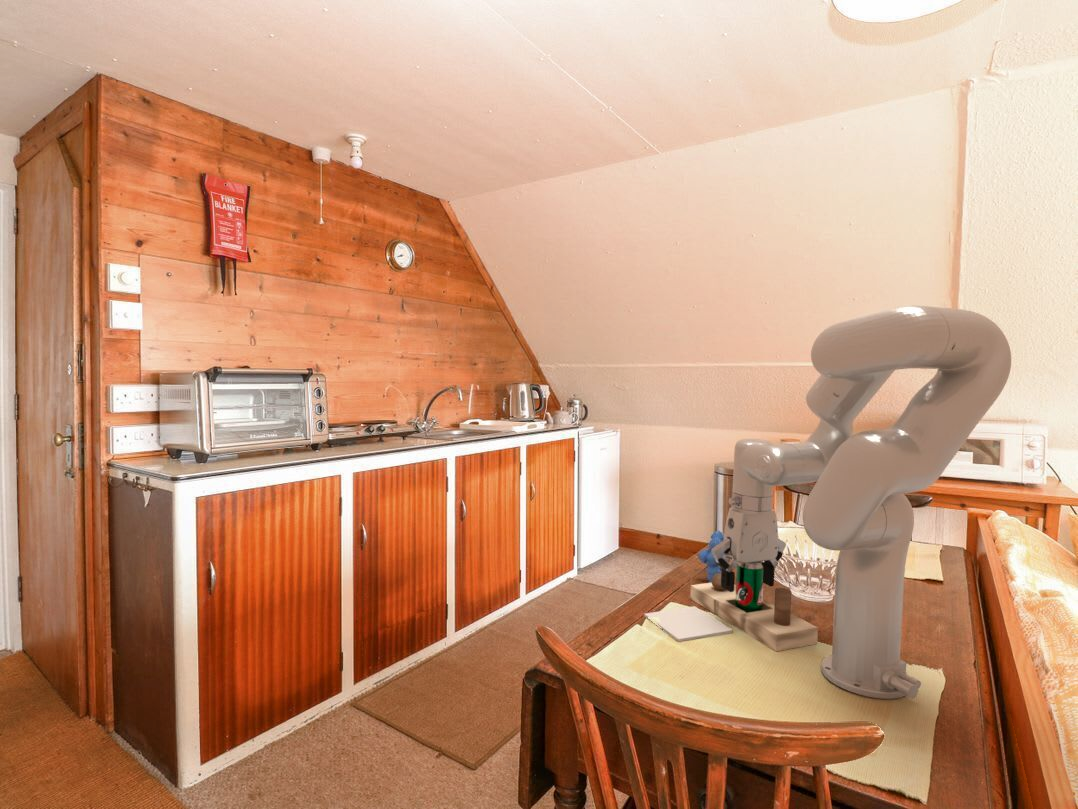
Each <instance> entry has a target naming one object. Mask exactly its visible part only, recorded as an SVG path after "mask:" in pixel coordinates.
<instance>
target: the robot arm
mask: <svg viewBox="0 0 1078 809" xmlns="http://www.w3.org/2000/svg"><path fill="white" fill-rule="evenodd" d="M810 358H811V360H810V361H811V364H812V366H813V367H814V369H815V371H817V373H818V374H820V375H819V376H818V378H817V379H816V380H815V381H814V383H813V385H812V386H811V387H810V389H809V390H807V393H806V395H805V401H806V404H807V406H808V408H809V410H810V411H811V412H812V413H813V414H814V415H815V416H816V417H817V418H818V419H820V420H819V422H818V425H817V426H816V428H815V429H814V430H813V432H812V433H811V434H810V436H808V438H807V439H806V440H805V441H804V442H799V443H798V442H797V443H782V444H781V443H780V444H774V443H773V442H771V441H769V440H765V439H759V438H757V439H756V438H743V439H739V440H737V441H736V443H735V445H734V452H733V453H734V454H733V472H732V473H733V474H732V490H731V491H732V493H731V497H729V498H728V501H727V502H728V504H729V505H731V507H729V509H728V513H727V517H726V521H725V527H724V534H723V535H724V540H723V541H722V542H721V543H719V544H718V545H716V546H715V547H713V548H712V550H711V552H712V554H713V557H714V558H715V559H714V560H715V562H716V563H717V564H718V565H719V567H720V568H721V587H722V588H724V589H726V590H727V591H729V592H733V591H734V585H735V583H736V572H735V571H733V570H734V569H735V568H736V567H737V563H738V562H739V563H752V562H760V561H762V565H763V566H764V577H763V584H765V585H766V586H769V587H774V585H775V572H776V571H775V570H776V568H775V567H777V566H778V565H779V561H780V559H781V558H782V556H783V553H784V551H785V549H786V546H787V542H785V541H784V540H782V539H779V528H778V518H777V513H776V510H775V509H774V508H773V501H774V500H773V497H774V496H773V495H774V487H782V486H792V485H800V484H812V483H815V485H814V486H813V488H812V489H811V490H810V493H809V495H808V496H807V498H806V501H805V502H804V506H803V511H802V524H803V527H804V531H805V533H806V535H807V537H808V538H810V540H811V541H812V542H813V543H814V544H816V545H817V546H819V547H821V548H822V549H826V550H829V551H839V553H838V556H837V560H836V568H835V582H834V584H835V585H834V601H833V602H834V603H833V622H832V623H833V625H832V626H833V628H832V649H831V654H829V655H827V656H825V657H824V658H823V659H822V660H821V663H820V670H821V673H822V674H823V676H824V677H825V678H826V679H827V680H828V681H830V682H831V683H832V684H834V685H835V686H837V687H839V688H841V689H842V690H846V691H847V692H850V693H853V694H857V695H860V696H863V697H869V698H874V699H883V700H885V699H887V700H888V699H891V700H893V699H898V698H902V697H905V696H906V697H908V698H911V699H914V698H916V697H917V695H918V693H919V689H920V688H921V685H922V683H921V681H920V680H919V679H918V678H916V677H913V676H910V675H909V674H908V672H907V661H904V660H902V659H901V645H902V644H901V643H902V642H901V640H902V625H903V624H902V623H903V604H904V590H905V589H904V587H905V573H906V562H907V555H908V552H909V547H910V543H911V541H912V536H913V531H914V526H915V514H914V509H913V507H912V504H911V502H910V501H909V499H908V497H907V496H906V495H905V494H910V493H917V492H921V491H925V490H927V489H928V488H930V487H931V486H933V485H934V484H935V483H936V482H937V481H938V479H939V478H940V477H941V475H942V474H943V473H944V472H945V470H946V469H947V467H948V466H949V465H950V464H951V461H952V460H953V459H954V458H955V456H956V455H957V453H958V452H959V450H960V449H961V448H962V447H963V445H964V444H965V443H966V441H967V440H968V438H969V437H970V435H971V433H972V432H973V431H974V429H975V428H976V427H977V425H978V424H979V422H980V421H981V420H982V419H983V418H984V416H985V415H986V414H987V412H988V411H989V410H990V409H991V407H992V406H993V405H994V403H995V402H996V401H997V399H998V398H999V396H1000V395H1001V393H1002V391H1003V389H1004V388H1005V386H1006V385H1007V382H1008V379H1009V377H1010V373H1011V368H1012V352H1011V348H1010V344H1009V341H1008V339H1007V337H1006V335H1005V334H1004V331H1003V330H1002V329H1001V328H1000V327H999V325H997V324H996V322H994V321H993V320H992V319H990V318H988V317H986V316H985V315H982V314H980V313H978V312H975V311H971V310H966V309H963V308H961V309H960V308H951V307H937V306H928V305H905V306H900V307H899V306H898V307H895V308H894V307H893V308H891V309H887V310H883V311H879V312H875V313H872V314H868V315H864V316H860V317H855V318H852V319H848V320H844V321H840V322H837V323H835V324H832V325H830V326H828V327H826V328H825V329H824V330H823V331H822V332H820V333H819V335H818V336H817V337H816V339H814V341H813V345H812V347H811V351H810ZM907 369H929V370H937V371H936V373H935V375H934V376H933V377H932V378H931V379H930V380H929V381H927V383H925V385H923V386H922V387H921V388H920V389H919V390H918V391H917V392H916V393H915V394H914V395H913V396H912V398H911V399H910V401H909V402H908V404H907V406H906V407H905V409H904V411H902V413H901V415H900V416H899V418H897V419H896V421H895V422H894V423H893V425H891V426H890V427H888V428H885V429H871V430H864V431H860V432H857V433H856V434H853V432H854V428H853V425H854V424H853V423H854V421H855V420H856V418H857V417H858V416H859V415H860V413H861V412H862V411H863V410H864V408H865V407H866V406H867V405H868V404H869V402H870V401H871V400H872V398H874V396H875V395H876V394H877V393H878V392H879V391H880V389H881V388H882V387H883V385H884V384H885V383H886V382H887V381H888V379H890V377H891V375H893V373H894V372H895V371H897V370H907ZM723 552H724V555H725V556H724V557H722V553H723Z"/></svg>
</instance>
